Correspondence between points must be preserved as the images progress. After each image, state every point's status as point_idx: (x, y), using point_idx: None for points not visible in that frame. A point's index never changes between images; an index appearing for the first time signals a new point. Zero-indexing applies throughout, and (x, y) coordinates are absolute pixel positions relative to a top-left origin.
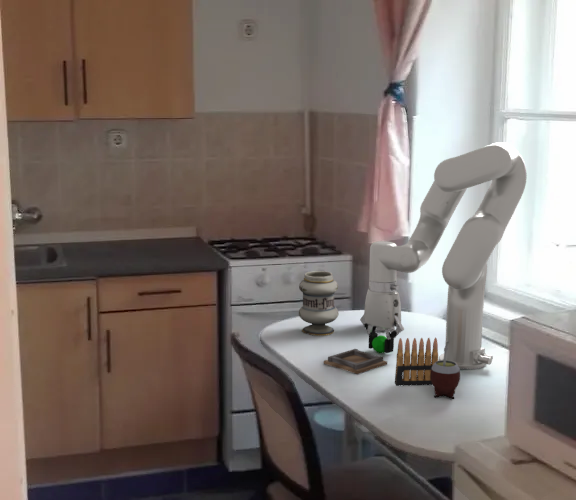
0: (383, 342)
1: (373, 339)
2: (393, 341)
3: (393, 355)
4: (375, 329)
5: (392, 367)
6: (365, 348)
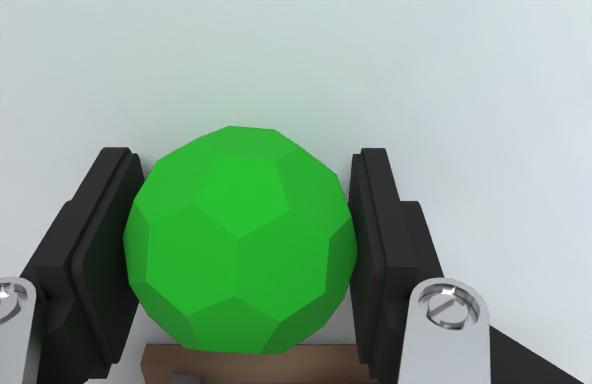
0: (325, 318)
1: (156, 318)
2: (437, 269)
3: (409, 159)
4: (37, 357)
5: (556, 360)
6: (39, 178)
